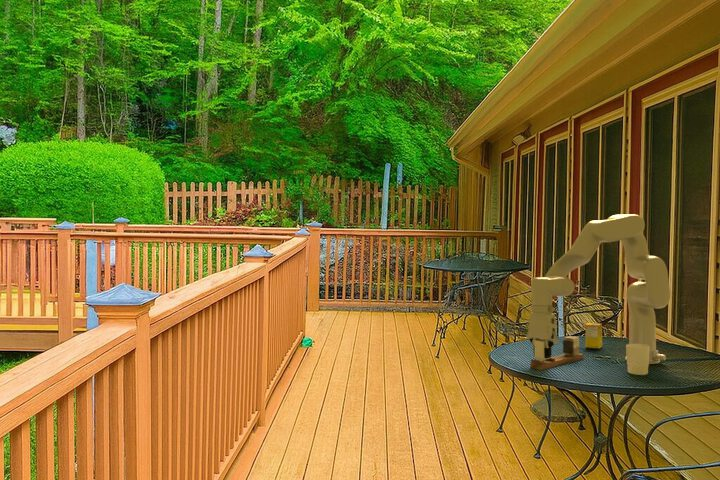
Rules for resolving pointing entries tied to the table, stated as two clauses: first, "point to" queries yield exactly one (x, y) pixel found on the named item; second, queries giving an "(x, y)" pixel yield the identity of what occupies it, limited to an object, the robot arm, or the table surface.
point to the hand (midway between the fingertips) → (542, 356)
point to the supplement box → (593, 336)
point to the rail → (570, 355)
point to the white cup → (637, 358)
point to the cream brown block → (540, 349)
